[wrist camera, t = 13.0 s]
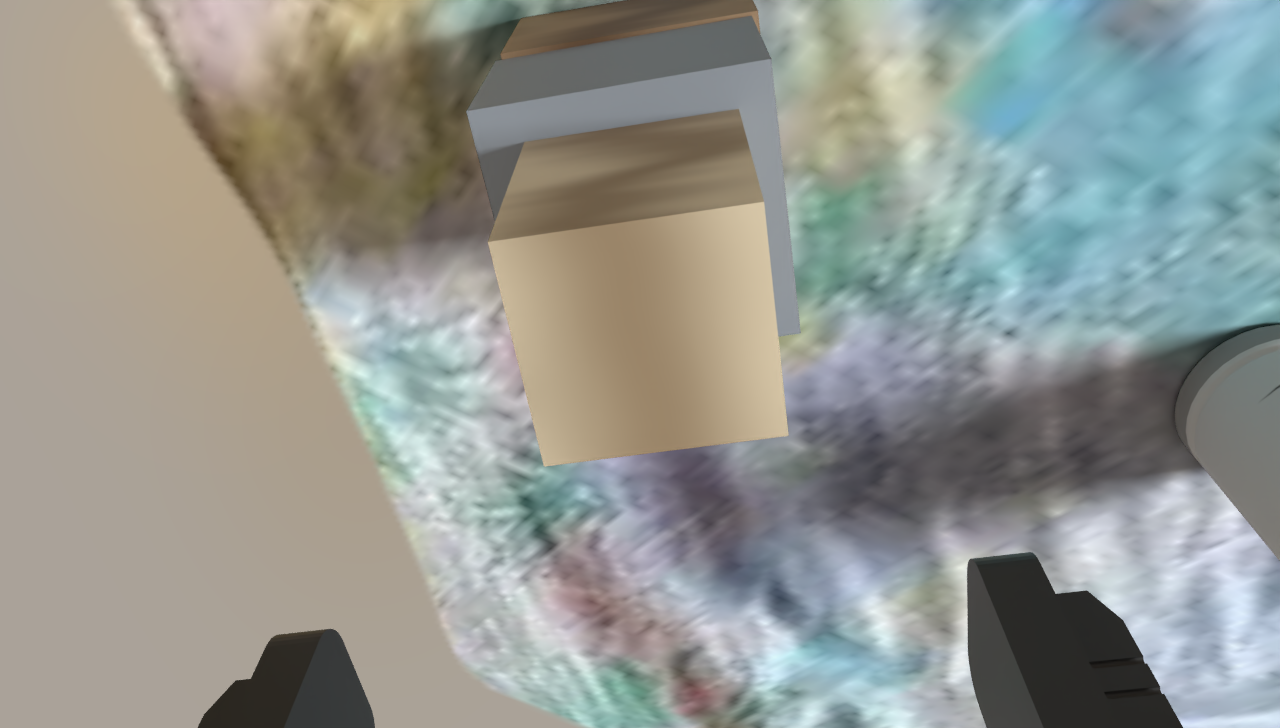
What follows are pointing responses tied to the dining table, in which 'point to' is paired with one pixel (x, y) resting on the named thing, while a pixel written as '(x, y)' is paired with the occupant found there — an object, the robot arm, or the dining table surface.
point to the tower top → (643, 110)
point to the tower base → (618, 22)
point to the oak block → (641, 290)
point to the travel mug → (1239, 425)
